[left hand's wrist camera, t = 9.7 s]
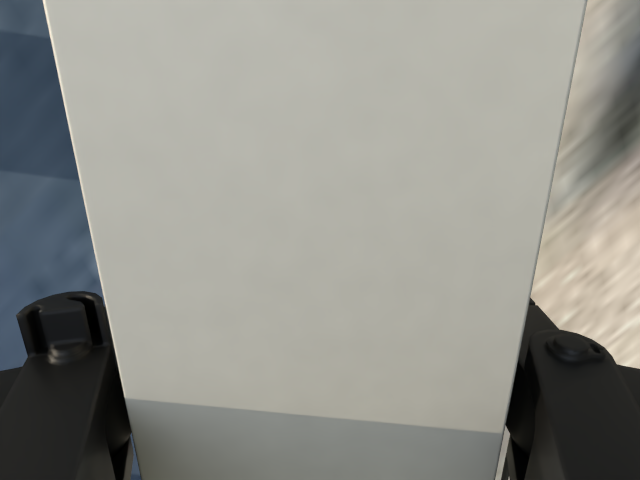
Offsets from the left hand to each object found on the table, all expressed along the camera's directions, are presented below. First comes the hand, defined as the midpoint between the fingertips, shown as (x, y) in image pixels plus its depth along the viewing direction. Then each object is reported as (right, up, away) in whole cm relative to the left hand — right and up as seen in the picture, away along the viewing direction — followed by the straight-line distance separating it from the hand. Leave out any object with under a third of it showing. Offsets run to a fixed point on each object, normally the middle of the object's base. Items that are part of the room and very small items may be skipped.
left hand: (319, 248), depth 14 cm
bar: (0, +20, -7) cm, 21 cm away
